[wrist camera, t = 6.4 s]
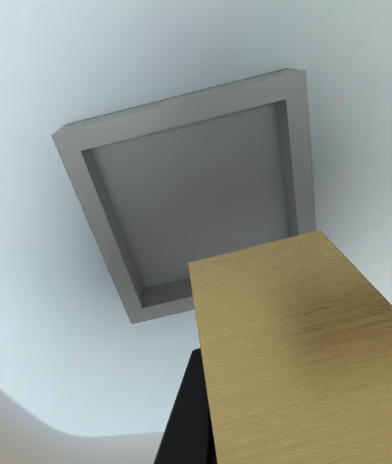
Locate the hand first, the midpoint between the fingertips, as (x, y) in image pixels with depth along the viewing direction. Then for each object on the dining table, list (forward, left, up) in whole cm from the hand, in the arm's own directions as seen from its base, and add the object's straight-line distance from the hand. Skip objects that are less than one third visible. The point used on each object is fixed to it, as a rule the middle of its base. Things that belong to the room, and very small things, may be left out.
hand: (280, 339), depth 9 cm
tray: (+1, +1, -13) cm, 13 cm away
